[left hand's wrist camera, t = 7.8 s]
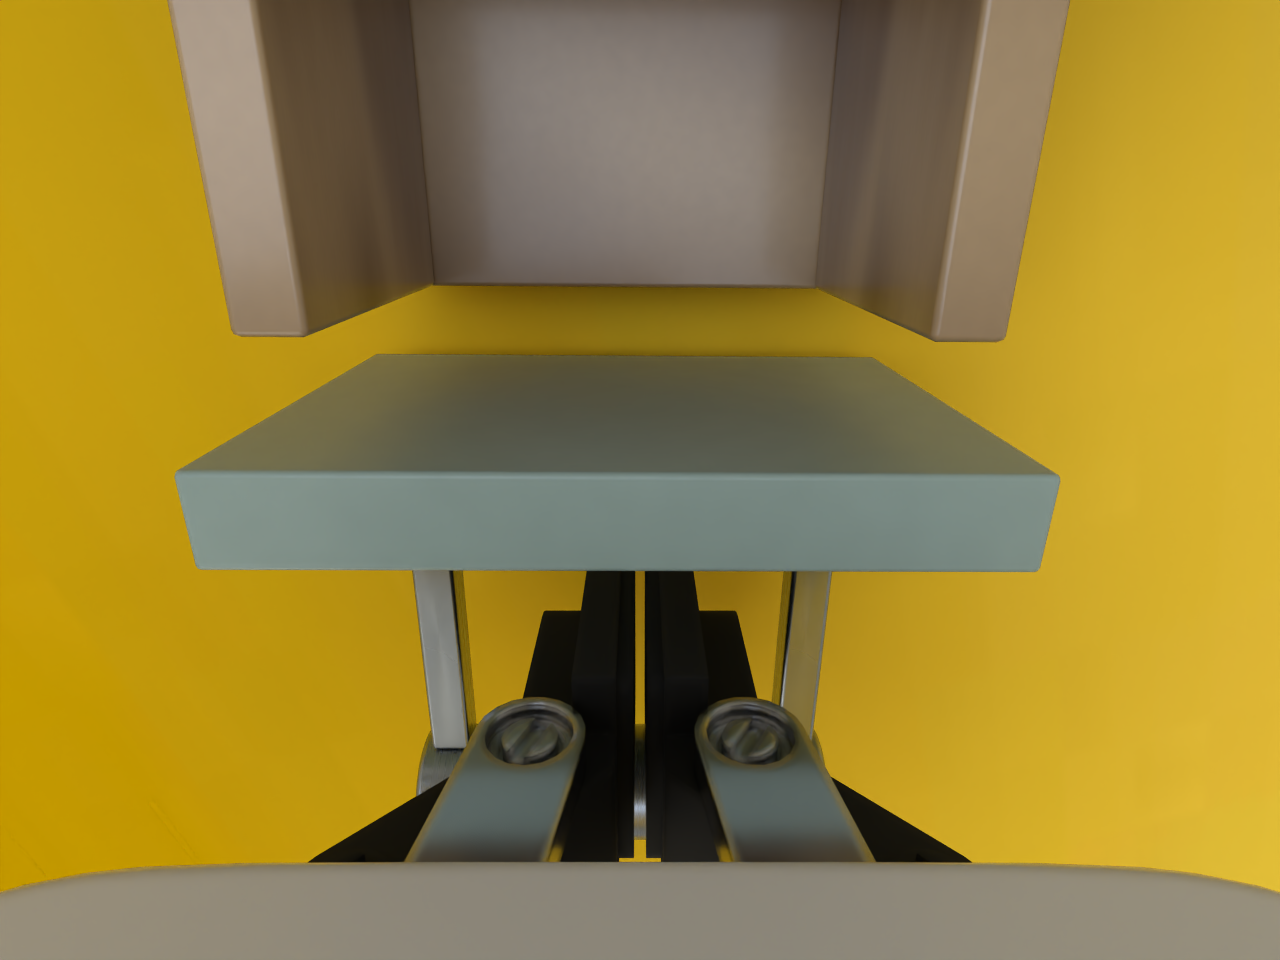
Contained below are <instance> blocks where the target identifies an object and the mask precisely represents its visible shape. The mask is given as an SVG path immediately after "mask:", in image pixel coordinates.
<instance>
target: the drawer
mask: <svg viewBox="0 0 1280 960" xmlns="http://www.w3.org/2000/svg"><path fill="white" fill-rule="evenodd" d="M1069 3H1070V0H168V5H169V10H170V16H171V21H172V26H173V31H174V36H175V41H176V47H177V52H178V57H179V62H180V67H181V72H182V77H183V83H184V88H185V93H186V98H187V103H188V108H189V113H190V119H191V124H192V129H193V134H194V139H195V144H196V149H197V155H198V160H199V165H200V170H201V175H202V180H203V185H204V191H205V196H206V201H207V206H208V211H209V216H210V222H211V227H212V232H213V237H214V242H215V247H216V252H217V258H218V263H219V268H220V273H221V278H222V283H223V288H224V294H225V299H226V304H227V309H228V314H229V319H230V324H231V330H232V331H233V333H234V334H235V335H238V336H241V337H305V336H308V335H310V334H313V333H315V332H318V331H320V330H323V329H325V328H328V327H330V326H333V325H335V324H338V323H340V322H342V321H345V320H347V319H350V318H352V317H355V316H357V315H360V314H362V313H365V312H367V311H370V310H372V309H375V308H377V307H380V306H382V305H385V304H387V303H390V302H392V301H395V300H397V299H400V298H402V297H405V296H407V295H410V294H412V293H415V292H417V291H420V290H422V289H424V288H427V287H429V286H432V285H434V286H557V287H679V288H801V289H819V290H822V291H824V292H826V293H828V294H830V295H833V296H835V297H837V298H839V299H842V300H844V301H846V302H848V303H850V304H853V305H855V306H857V307H859V308H862V309H864V310H866V311H868V312H870V313H873V314H875V315H877V316H879V317H882V318H884V319H886V320H888V321H891V322H893V323H895V324H897V325H899V326H902V327H904V328H906V329H908V330H911V331H913V332H915V333H917V334H919V335H922V336H924V337H926V338H928V339H931V340H933V341H935V342H998V341H1001V340H1004V338H1005V336H1006V332H1007V326H1008V321H1009V316H1010V311H1011V306H1012V300H1013V295H1014V290H1015V285H1016V279H1017V274H1018V269H1019V264H1020V259H1021V253H1022V248H1023V243H1024V238H1025V232H1026V227H1027V222H1028V217H1029V212H1030V206H1031V201H1032V196H1033V191H1034V186H1035V180H1036V175H1037V170H1038V165H1039V159H1040V154H1041V149H1042V144H1043V139H1044V133H1045V128H1046V123H1047V118H1048V112H1049V107H1050V102H1051V97H1052V92H1053V86H1054V81H1055V76H1056V71H1057V65H1058V60H1059V55H1060V50H1061V45H1062V39H1063V34H1064V29H1065V24H1066V18H1067V13H1068V8H1069ZM175 480H176V485H177V489H178V493H179V497H180V501H181V505H182V510H183V514H184V518H185V522H186V526H187V530H188V535H189V539H190V543H191V547H192V551H193V555H194V560H195V564H196V566H197V568H198V569H201V570H412V572H413V581H414V589H415V597H416V606H417V614H418V623H419V631H420V640H421V648H422V657H423V665H424V673H425V682H426V690H427V699H428V707H429V716H430V724H431V731H430V733H429V735H428V737H427V739H426V742H425V745H424V748H423V751H422V755H421V759H420V764H419V770H418V777H417V787H416V796H418V795H420V794H421V793H423V792H425V791H426V790H428V789H430V788H431V787H433V786H435V785H436V784H438V783H440V782H441V781H443V780H445V779H446V778H448V777H450V775H451V773H452V771H453V769H454V767H455V765H456V764H457V762H458V760H459V758H460V756H461V754H462V752H463V750H464V749H465V747H466V745H467V743H468V741H469V739H470V737H471V736H472V734H473V732H474V730H475V728H476V726H477V725H478V724H476V713H475V702H474V691H473V680H472V669H471V658H470V647H469V636H468V624H467V613H466V602H465V591H464V580H463V570H520V571H784V572H783V583H782V594H781V605H780V616H779V627H778V638H777V649H776V660H775V671H774V682H773V693H772V703H775V704H777V705H779V706H782V707H784V708H785V709H786V710H788V711H789V712H790V713H792V714H793V715H795V716H796V717H797V719H798V720H799V721H800V723H801V724H802V725H803V726H804V728H805V730H806V732H807V734H808V736H809V737H810V739H811V741H812V743H813V745H814V747H815V749H816V750H817V752H818V754H819V756H820V758H821V760H822V762H823V764H824V765H825V762H824V757H823V752H822V749H821V745H820V742H819V739H818V737H817V734H816V732H815V730H814V729H813V728H814V719H815V711H816V703H817V694H818V686H819V677H820V669H821V660H822V652H823V644H824V635H825V627H826V618H827V610H828V602H829V593H830V585H831V576H832V571H874V572H1036V571H1038V570H1039V568H1040V565H1041V561H1042V556H1043V552H1044V548H1045V544H1046V539H1047V535H1048V531H1049V527H1050V522H1051V518H1052V514H1053V510H1054V505H1055V501H1056V497H1057V493H1058V489H1059V484H1060V477H1059V475H1057V474H1056V473H1054V472H1053V471H1051V470H1050V469H1048V468H1046V467H1045V466H1043V465H1042V464H1040V463H1038V462H1037V461H1035V460H1034V459H1032V458H1031V457H1029V456H1027V455H1026V454H1024V453H1023V452H1021V451H1019V450H1018V449H1016V448H1015V447H1013V446H1012V445H1010V444H1008V443H1007V442H1005V441H1004V440H1002V439H1001V438H999V437H997V436H996V435H994V434H993V433H991V432H989V431H988V430H986V429H985V428H983V427H982V426H980V425H978V424H977V423H975V422H974V421H972V420H970V419H969V418H967V417H966V416H964V415H963V414H961V413H959V412H958V411H956V410H955V409H953V408H952V407H950V406H948V405H947V404H945V403H944V402H942V401H940V400H939V399H937V398H936V397H934V396H933V395H931V394H929V393H928V392H926V391H925V390H923V389H921V388H920V387H918V386H917V385H915V384H914V383H912V382H910V381H909V380H907V379H906V378H904V377H903V376H901V375H899V374H898V373H896V372H895V371H893V370H891V369H890V368H888V367H887V366H885V365H884V364H882V363H880V362H879V361H877V360H876V359H874V358H872V357H737V356H592V355H447V354H376V355H374V356H373V357H371V358H369V359H368V360H366V361H364V362H362V363H361V364H359V365H357V366H356V367H354V368H352V369H350V370H349V371H347V372H345V373H344V374H342V375H340V376H338V377H337V378H335V379H333V380H332V381H330V382H328V383H326V384H325V385H323V386H321V387H320V388H318V389H316V390H314V391H313V392H311V393H309V394H308V395H306V396H304V397H302V398H301V399H299V400H297V401H296V402H294V403H292V404H291V405H289V406H287V407H285V408H284V409H282V410H280V411H279V412H277V413H275V414H273V415H272V416H270V417H268V418H267V419H265V420H263V421H261V422H260V423H258V424H256V425H255V426H253V427H251V428H249V429H248V430H246V431H244V432H243V433H241V434H239V435H237V436H236V437H234V438H232V439H231V440H229V441H227V442H226V443H224V444H222V445H220V446H219V447H217V448H215V449H214V450H212V451H210V452H208V453H207V454H205V455H203V456H202V457H200V458H198V459H196V460H195V461H193V462H191V463H190V464H188V465H186V466H184V467H183V468H181V469H179V470H178V471H176V473H175ZM634 840H646V783H645V724H635V787H634Z"/></svg>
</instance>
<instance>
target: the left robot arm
mask: <svg viewBox="0 0 1280 960" xmlns="http://www.w3.org/2000/svg"><path fill="white" fill-rule="evenodd" d="M645 783H646V858H661V862H619V858H634V787H635V571H587V573H586V580H585V587H584V594H583V601H582V608H581V611H544V613H543V616H542V620H541V624H540V628H539V632H538V637H537V641H536V645H535V649H534V653H533V658H532V662H531V666H530V670H529V675H528V679H527V683H526V687H525V691H524V696H523V699H518V700H513V701H510V702H508V703H505V704H503V705H501V706H498V707H496V708H495V709H494V710H492V711H491V712H490V713H488V714H487V715H485V716H484V717H483V719H482V720H481V721H480V723H479V724H478V725H477V726H476V728H475V730H474V732H473V734H472V736H471V737H470V739H469V741H468V743H467V745H466V747H465V749H464V750H463V752H462V754H461V756H460V758H459V760H458V762H457V764H456V765H455V767H454V769H453V771H452V773H451V775H450V777H448V778H446V779H445V780H443V781H441V782H440V783H438V784H436V785H435V786H433V787H431V788H430V789H428V790H426V791H425V792H423V793H421V794H420V795H418V796H416V797H415V798H413V799H411V800H409V801H408V802H406V803H404V804H403V805H401V806H399V807H398V808H396V809H394V810H393V811H391V812H389V813H388V814H386V815H384V816H383V817H381V818H379V819H378V820H376V821H374V822H373V823H371V824H369V825H368V826H366V827H364V828H363V829H361V830H359V831H358V832H356V833H354V834H353V835H351V836H349V837H348V838H346V839H344V840H343V841H341V842H339V843H338V844H336V845H334V846H333V847H331V848H329V849H328V850H326V851H324V852H323V853H321V854H319V855H318V856H316V857H314V858H313V859H312V860H310V861H309V862H308V863H233V864H206V865H180V866H154V867H136V868H127V869H118V870H109V871H100V872H91V873H83V874H78V875H73V876H68V877H63V878H58V879H53V880H48V881H43V882H38V883H33V884H28V885H23V886H20V887H16V888H13V889H9V890H6V891H3V892H0V960H1280V892H1277V891H1274V890H1271V889H1267V888H1264V887H1260V886H1257V885H1252V884H1247V883H1242V882H1237V881H1232V880H1227V879H1222V878H1217V877H1212V876H1207V875H1202V874H1197V873H1189V872H1180V871H1171V870H1162V869H1153V868H1144V867H1126V866H1100V865H1074V864H1047V863H972V862H971V861H970V860H968V859H967V858H966V857H964V856H963V855H961V854H959V853H957V852H956V851H954V850H952V849H951V848H949V847H947V846H946V845H944V844H942V843H941V842H939V841H937V840H936V839H934V838H932V837H931V836H929V835H927V834H926V833H924V832H922V831H921V830H919V829H917V828H916V827H914V826H912V825H911V824H909V823H907V822H906V821H904V820H902V819H901V818H899V817H897V816H896V815H894V814H892V813H891V812H889V811H887V810H886V809H884V808H882V807H881V806H879V805H877V804H876V803H874V802H872V801H871V800H869V799H867V798H866V797H864V796H862V795H861V794H859V793H857V792H855V791H854V790H852V789H850V788H849V787H847V786H845V785H844V784H842V783H840V782H839V781H837V780H835V779H834V778H832V777H830V775H829V773H828V771H827V769H826V767H825V765H824V764H823V762H822V760H821V758H820V756H819V754H818V752H817V750H816V749H815V747H814V745H813V743H812V741H811V739H810V737H809V736H808V734H807V732H806V730H805V728H804V726H803V725H802V724H801V723H800V721H799V720H798V719H797V717H796V716H795V715H793V714H792V713H790V712H789V711H788V710H786V709H785V708H784V707H782V706H779V705H777V704H775V703H772V702H770V701H767V700H762V699H757V695H756V691H755V687H754V683H753V679H752V674H751V670H750V666H749V662H748V658H747V653H746V649H745V645H744V641H743V636H742V632H741V628H740V624H739V620H738V616H737V613H736V611H699V607H698V601H697V594H696V587H695V580H694V573H693V571H645Z"/></svg>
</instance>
